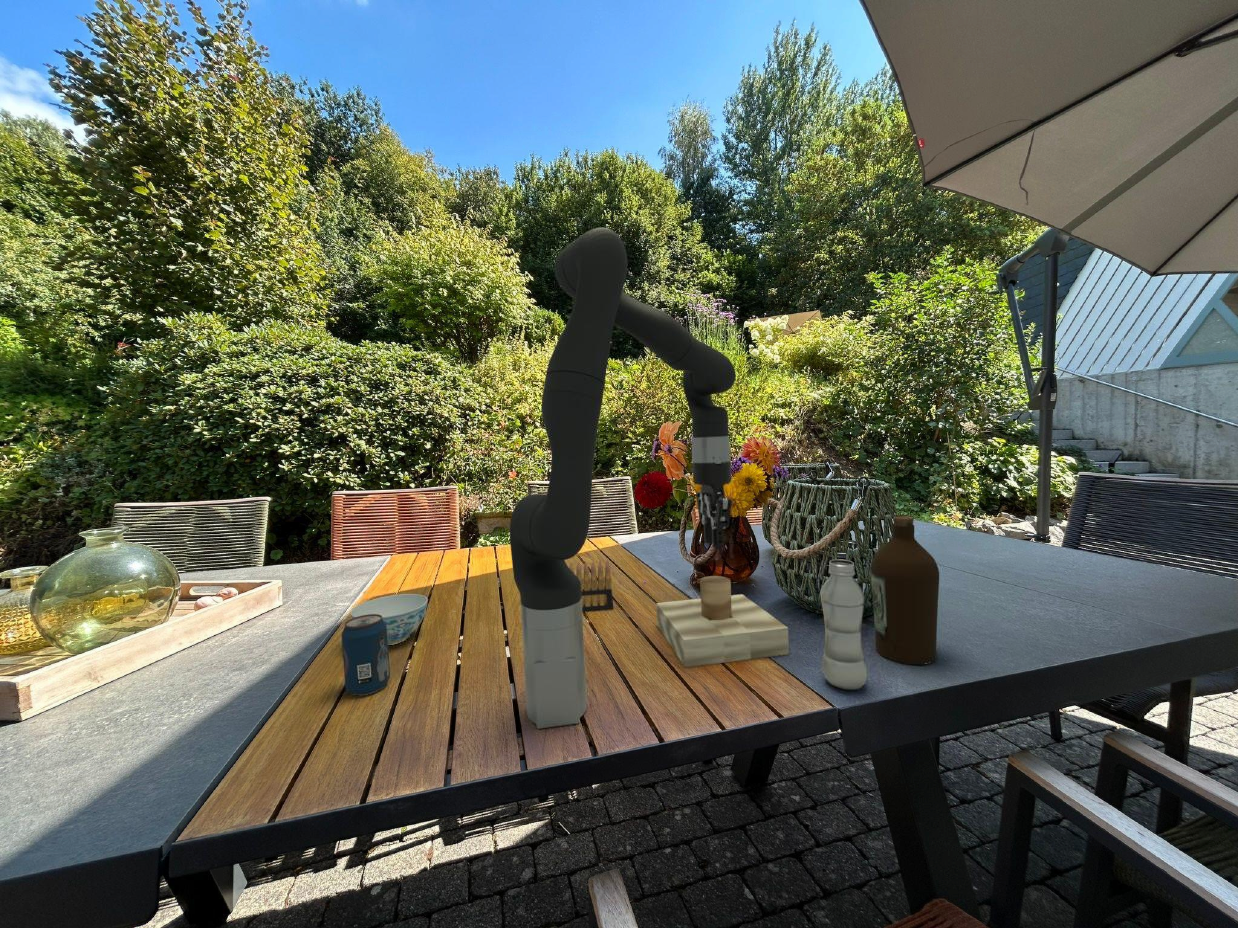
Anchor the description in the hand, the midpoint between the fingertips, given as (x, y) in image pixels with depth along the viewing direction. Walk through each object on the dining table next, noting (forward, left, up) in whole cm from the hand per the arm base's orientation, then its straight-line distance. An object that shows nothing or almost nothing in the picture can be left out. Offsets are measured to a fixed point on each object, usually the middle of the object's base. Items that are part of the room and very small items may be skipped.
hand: (714, 544), depth 96 cm
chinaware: (+18, +67, -19) cm, 72 cm away
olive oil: (-15, -30, -19) cm, 39 cm away
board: (0, 0, -19) cm, 19 cm away
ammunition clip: (+24, +23, -20) cm, 39 cm away
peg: (0, 0, -19) cm, 19 cm away
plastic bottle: (-22, -13, -19) cm, 32 cm away
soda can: (-3, +65, -19) cm, 68 cm away
